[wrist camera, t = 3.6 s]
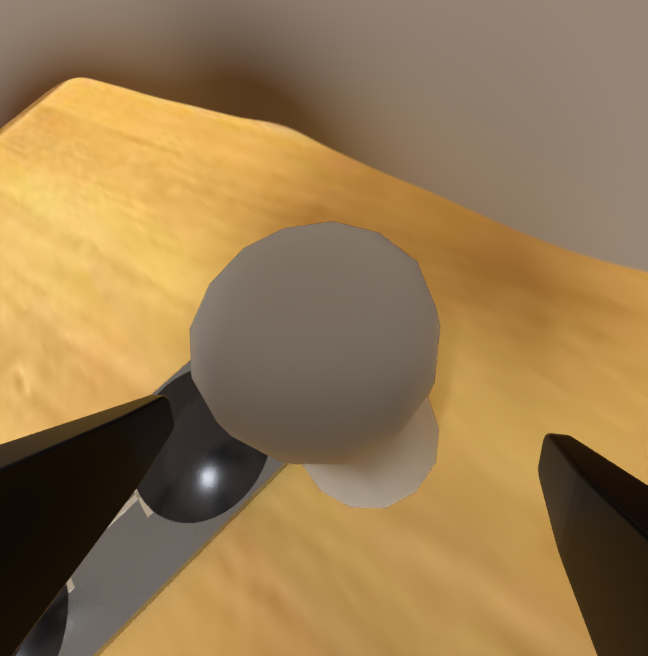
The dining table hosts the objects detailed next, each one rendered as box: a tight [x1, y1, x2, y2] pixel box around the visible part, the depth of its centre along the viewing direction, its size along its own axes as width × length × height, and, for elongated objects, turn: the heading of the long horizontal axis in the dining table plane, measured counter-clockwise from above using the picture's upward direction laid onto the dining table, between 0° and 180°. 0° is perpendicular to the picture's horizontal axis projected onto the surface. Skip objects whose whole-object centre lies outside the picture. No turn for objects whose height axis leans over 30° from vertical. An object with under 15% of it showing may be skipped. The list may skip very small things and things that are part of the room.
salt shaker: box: [190, 221, 440, 508], centre depth 11 cm, size 6×6×13 cm
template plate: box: [16, 360, 288, 656], centre depth 17 cm, size 20×8×1 cm, turn 133°
